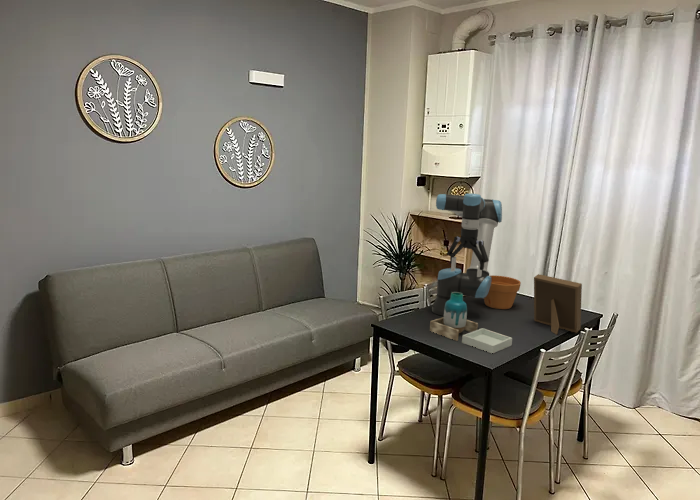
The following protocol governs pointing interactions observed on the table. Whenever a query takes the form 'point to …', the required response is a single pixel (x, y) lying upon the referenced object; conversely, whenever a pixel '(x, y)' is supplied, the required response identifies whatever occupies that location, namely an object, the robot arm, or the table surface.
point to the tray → (487, 340)
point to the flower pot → (502, 292)
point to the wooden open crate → (449, 332)
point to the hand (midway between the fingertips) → (465, 273)
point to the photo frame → (557, 303)
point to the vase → (455, 312)
